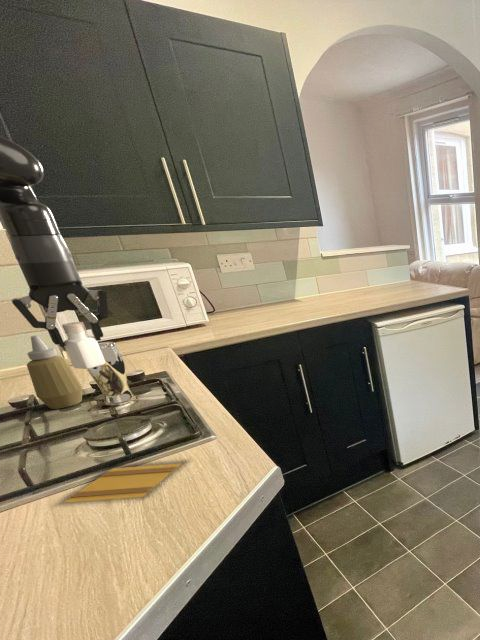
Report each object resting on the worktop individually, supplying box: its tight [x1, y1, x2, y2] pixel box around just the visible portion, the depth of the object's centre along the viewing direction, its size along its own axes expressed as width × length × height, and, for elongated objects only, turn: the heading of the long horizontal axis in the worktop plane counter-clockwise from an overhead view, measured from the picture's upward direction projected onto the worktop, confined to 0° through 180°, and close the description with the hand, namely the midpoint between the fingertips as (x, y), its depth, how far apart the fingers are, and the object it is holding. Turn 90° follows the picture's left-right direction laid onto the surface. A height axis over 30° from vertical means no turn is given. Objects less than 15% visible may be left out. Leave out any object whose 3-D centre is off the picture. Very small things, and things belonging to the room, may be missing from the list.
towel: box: [64, 463, 181, 504], centre depth 73 cm, size 12×10×1 cm
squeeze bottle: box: [26, 335, 83, 410], centre depth 103 cm, size 8×8×18 cm
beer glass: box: [86, 341, 137, 407], centre depth 105 cm, size 7×7×15 cm
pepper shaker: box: [61, 321, 105, 370], centre depth 89 cm, size 4×4×10 cm
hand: (80, 342), depth 89 cm, fingers closed on pepper shaker, 5 cm apart
